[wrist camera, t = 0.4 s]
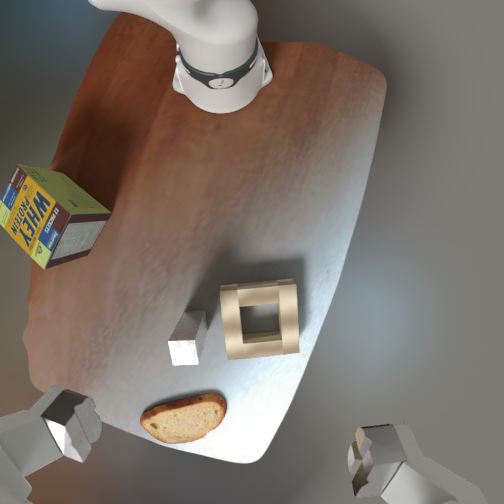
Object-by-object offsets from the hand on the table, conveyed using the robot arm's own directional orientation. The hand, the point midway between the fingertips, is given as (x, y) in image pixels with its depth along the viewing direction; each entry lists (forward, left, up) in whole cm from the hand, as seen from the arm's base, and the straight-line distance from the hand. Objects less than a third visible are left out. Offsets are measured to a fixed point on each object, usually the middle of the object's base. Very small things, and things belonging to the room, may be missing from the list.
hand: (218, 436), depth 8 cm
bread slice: (+36, -16, -48) cm, 62 cm away
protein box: (-10, -32, -47) cm, 58 cm away
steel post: (+13, -9, -47) cm, 50 cm away
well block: (+13, +3, -47) cm, 49 cm away
